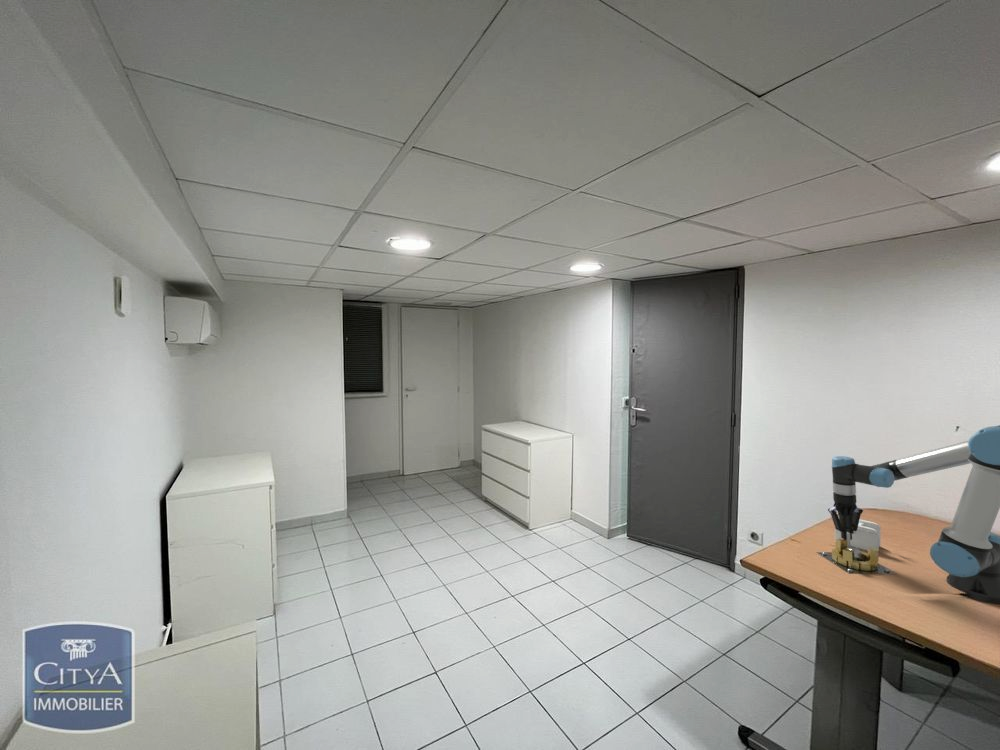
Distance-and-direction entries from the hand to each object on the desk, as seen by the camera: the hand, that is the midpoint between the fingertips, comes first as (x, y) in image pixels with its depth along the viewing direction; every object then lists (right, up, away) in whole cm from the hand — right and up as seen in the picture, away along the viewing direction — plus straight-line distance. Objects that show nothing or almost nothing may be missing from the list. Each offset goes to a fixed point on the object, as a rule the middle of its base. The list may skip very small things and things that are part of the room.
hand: (846, 546), depth 173 cm
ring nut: (-2, -4, -6) cm, 7 cm away
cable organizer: (+14, -5, +10) cm, 18 cm away
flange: (-2, -6, -6) cm, 8 cm away
